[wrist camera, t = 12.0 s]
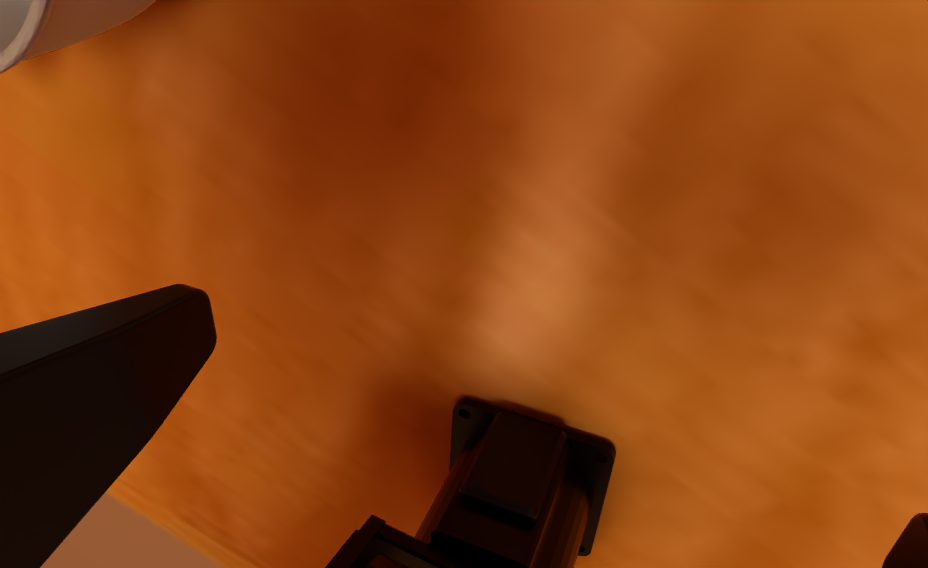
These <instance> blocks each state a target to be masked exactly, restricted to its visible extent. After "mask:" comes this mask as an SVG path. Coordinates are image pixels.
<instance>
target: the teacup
mask: <svg viewBox="0 0 928 568" xmlns="http://www.w3.org/2000/svg"><path fill="white" fill-rule="evenodd" d="M155 1H156V0H0V74H1V73H3V72H5V71H7V70H8V69H10V68H12V67H13V66H15V65H17V64H18V63H19V62H20V61H23V60H26V59H29V58H33V57H36V56H39V55H43V54H45V53H48V52H51V51H54V50H57V49H60V48H63V47H66V46H69V45H72V44H75V43H77V42H80V41H82V40H85V39H88V38H90V37H93V36H96V35H98V34H101V33H103V32H105V31H108V30H110V29H112V28H114V27H117V26H119V25H121V24H123V23H125V22H127V21H129V20H131V19H132V18H134V17H135V16H137V15H139V14H140V13H142V12H143V11H145V10H146V9H147V8H148V7H149V6H151V5H152V4H153V3H154V2H155Z"/></svg>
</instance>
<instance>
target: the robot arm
mask: <svg viewBox="0 0 928 568" xmlns="http://www.w3.org/2000/svg"><path fill="white" fill-rule="evenodd" d="M216 339H217V335H216V329H215V324H214V319H213V314H212V309H211V304H210V299H209V297H208V295H207V294H206V292H204V291H203V290H201V289H197V288H194V287H191V286H188V285H184V284H175V285H171V286H167V287H164V288H160V289H157V290H153V291H150V292H146V293H142V294H139V295H135V296H132V297H128V298H124V299H121V300H117V301H114V302H110V303H107V304H103V305H99V306H96V307H92V308H89V309H85V310H82V311H78V312H74V313H71V314H67V315H64V316H60V317H56V318H53V319H49V320H46V321H42V322H39V323H35V324H31V325H28V326H24V327H21V328H17V329H14V330H10V331H6V332H3V333H0V568H40V567H41V566H42V565H43V564H44V562H45V561H46V560H47V559H48V558H49V557H50V556H51V554H52V553H53V552H54V551H55V550H56V548H57V547H58V546H59V545H60V544H61V543H62V542H63V540H64V539H65V538H66V537H67V536H68V535H69V534H70V532H71V531H72V530H73V529H74V528H75V527H76V525H77V524H78V523H79V522H80V521H81V519H82V518H83V517H84V516H85V515H86V514H87V513H88V511H89V510H90V509H91V508H92V507H93V506H94V505H95V503H96V502H97V501H98V500H99V499H100V497H101V496H102V495H103V494H104V493H105V492H106V491H107V489H108V488H109V487H110V486H111V485H112V484H113V483H114V481H115V480H116V479H117V478H118V477H119V476H120V474H121V473H122V472H123V471H124V470H125V469H126V467H127V466H128V465H129V464H130V463H131V462H132V460H133V459H134V458H135V457H136V456H137V455H138V454H139V452H140V451H141V450H142V449H143V448H144V446H145V445H146V444H147V443H148V442H149V440H150V439H151V438H152V437H153V435H154V434H155V433H156V431H157V430H158V429H159V427H160V426H161V425H162V423H163V422H164V420H165V419H166V418H167V416H168V415H169V413H170V412H171V411H172V409H173V408H174V406H175V405H176V404H177V402H178V401H179V399H180V398H181V396H182V395H183V394H184V392H185V391H186V389H187V388H188V387H189V385H190V384H191V382H192V381H193V379H194V378H195V377H196V375H197V374H198V372H199V371H200V370H201V368H202V367H203V365H204V364H205V362H206V361H207V360H208V358H209V357H210V355H211V354H212V352H213V350H214V348H215V345H216ZM464 409H465V410H467V411H469V412H467V411H465V410H464ZM598 453H602V454H604V455H605V456H602V455H600V454H598ZM615 456H616V451H615V449H614V447H613V446H612V445H611V444H609V443H607V442H605V441H602V440H598V439H595V438H592V437H589V436H586V435H583V434H580V433H576V432H573V431H570V430H567V429H564V428H561V427H557V426H554V425H551V424H548V423H545V422H542V421H539V420H535V419H532V418H529V417H526V416H523V415H520V414H517V413H513V412H510V411H507V410H504V409H501V408H498V407H495V406H491V405H488V404H485V403H482V402H479V401H476V400H473V399H469V398H461V399H459V400H458V401H457V403H456V405H455V406H454V409H453V419H452V436H451V453H450V470H449V474H448V476H447V478H446V480H445V482H444V484H443V485H442V487H441V489H440V491H439V493H438V495H437V497H436V498H435V500H434V502H433V504H432V506H431V508H430V509H429V511H428V513H427V515H426V517H425V519H424V521H423V522H422V524H421V526H420V528H419V530H418V532H417V534H416V535H415V537H412V536H410V535H408V534H406V533H404V532H402V531H400V530H397V529H395V528H393V527H391V526H389V525H387V524H386V521H385V520H383V519H380V518H378V517H376V516H374V515H371V516H370V518H369V519H368V520H367V521H366V523H365V524H364V525H363V526H362V527H361V529H360V530H359V531H358V530H355V532H354V533H353V534H352V535H351V536H350V538H349V539H348V540H347V541H346V543H345V544H344V545H343V546H342V547H341V549H340V550H339V551H338V552H337V554H336V555H335V556H334V557H333V558H332V560H331V561H330V562H329V563H328V565H327V566H326V567H325V568H574V565H575V561H576V558H577V555H579V556H587V555H589V554H590V552H591V549H592V546H593V542H594V538H595V534H596V530H597V526H598V522H599V518H600V515H601V511H602V507H603V503H604V499H605V495H606V491H607V487H608V484H609V480H610V476H611V472H612V468H613V464H614V460H615ZM882 568H928V513H919V514H917V515H915V516H914V517H913V518H912V519H911V520H910V522H909V523H908V525H907V526H906V528H905V529H904V531H903V532H902V534H901V535H900V537H899V538H898V540H897V541H896V543H895V544H894V546H893V547H892V549H891V550H890V552H889V553H888V555H887V556H886V558H885V560H884V563H883V566H882Z"/></svg>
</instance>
